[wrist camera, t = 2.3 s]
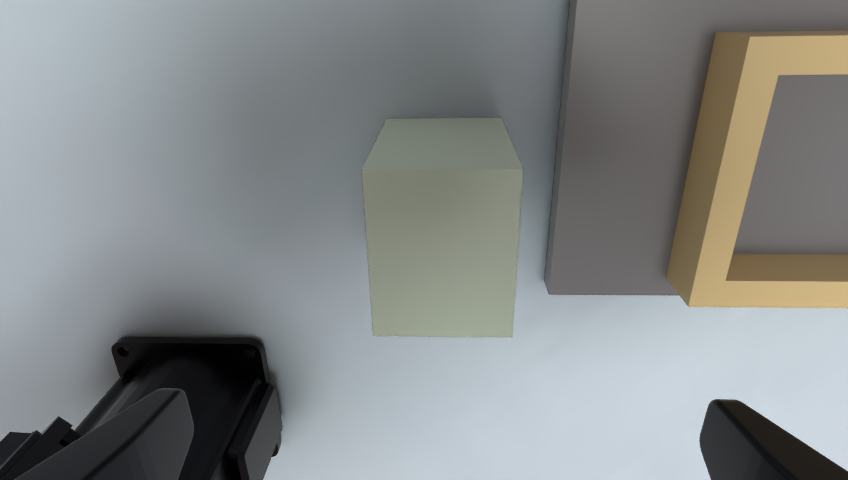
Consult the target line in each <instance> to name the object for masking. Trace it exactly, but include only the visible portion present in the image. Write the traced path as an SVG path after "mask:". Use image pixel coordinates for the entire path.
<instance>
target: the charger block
mask: <svg viewBox="0 0 848 480" xmlns="http://www.w3.org/2000/svg"><path fill="white" fill-rule="evenodd" d="M522 180H523V167H522V165H521V163H520V160H519V158H518V156H517V153H516V151H515V149H514V146H513V144H512V142H511V139H510V137H509V135H508V132H507V130H506V128H505V125H504V123H503V121H502V118H392V119H386V121H385V123H384V125H383V127H382V129H381V131H380V133H379V135H378V137H377V139H376V141H375V143H374V145H373V147H372V149H371V151H370V153H369V156H368V158H367V160H366V162H365V164H364V166H363V168H362V184H363V199H364V213H365V227H366V241H367V255H368V270H369V284H370V298H371V312H372V326H373V336H420V337H512V335H513V319H514V304H515V288H516V273H517V257H518V242H519V226H520V211H521V195H522Z"/></svg>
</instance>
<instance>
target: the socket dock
mask: <svg viewBox="0 0 848 480" xmlns="http://www.w3.org/2000/svg"><path fill="white" fill-rule="evenodd" d="M544 282H545V285H546V288H547V291H548V294H556V295H680V297H681V298H682V299H683V300H684V302H685V303H686V304H687V306H688V307H782V308H848V0H570V8H569V19H568V30H567V41H566V51H565V62H564V73H563V84H562V95H561V106H560V117H559V128H558V139H557V150H556V161H555V172H554V183H553V193H552V204H551V215H550V226H549V237H548V248H547V259H546V270H545V281H544Z"/></svg>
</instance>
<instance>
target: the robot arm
mask: <svg viewBox="0 0 848 480" xmlns="http://www.w3.org/2000/svg"><path fill="white" fill-rule="evenodd" d="M123 347H124V348H126V349H127V350H128V351H127V350H125V349H124V348H123ZM247 349H252V350H253V351H254V352H255V353H252V352H249V351H248V350H247ZM112 354H113V357H114V360H115V363H116V366H117V369H118V372H119V375H120V378H119V379H118V381H117V382H116V383H115V384H114V385H113V386H112V388H111V389H110V390H109V391H108V392H107V393H106V394H105V396H104V397H103V398H102V399H101V400H100V401H99V403H98V404H97V405H96V406H95V407H94V408H93V410H92V411H91V412H90V413H89V414H88V415H87V417H86V418H85V419H84V420H83V421H82V422H81V424H80V425H79V426H78V427H77V428H76V429H75V431H74V430H73V429H71V427H72V425H71V424H69V423H68V422H66V421H65V420H63V419H62V418H60V417H59V416H58V417H57V418H56V419H55V420H54V421H53V422H52V423H51V424H50V425H49V426H48V427H47V428H46V429H45V430H44V431H43V432H42V433H40V432H38V431H37V430H36V431H35V432H32V433H17V432H10V433H9V434H8V435H7V436H6V437H5V438H4V439H3V440H2V441H1V442H0V480H263V478H264V475H265V473H266V470H267V468H268V465H269V462H270V460H271V457H274V456H275V455H277V453H278V451H279V449H280V445H281V442H280V434H281V431H282V421H281V415H280V410H279V404H278V398H277V392H276V387H275V386H274V385H273V383H272V382H270V380H269V374H268V368H267V363H266V357H265V351H264V347H263V345H262V343H261V342H260V341H258V340H256V339H252V338H180V337H122V338H120V339H118V340H117V341H116V343H115V344H114V345H113V346H112ZM700 448H701V452H702V455H703V458H704V461H705V464H706V466H707V469H708V472H709V475H710V478H711V480H848V471H846V470H845V469H843V468H842V467H840V466H839V465H837V464H836V463H834V462H833V461H831V460H829V459H828V458H826V457H825V456H823V455H822V454H820V453H819V452H817V451H816V450H814V449H813V448H811V447H810V446H808V445H807V444H805V443H803V442H802V441H800V440H799V439H797V438H796V437H794V436H793V435H791V434H790V433H788V432H787V431H785V430H784V429H782V428H781V427H779V426H777V425H776V424H774V423H773V422H771V421H770V420H768V419H767V418H765V417H764V416H762V415H761V414H759V413H758V412H756V411H754V410H753V409H751V408H750V407H748V406H747V405H745V404H744V403H742V402H740V401H738V400H726V399H716V400H712V401H711V402H710V403H709V406H708V408H707V412H706V415H705V419H704V423H703V426H702V430H701V433H700Z"/></svg>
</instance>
